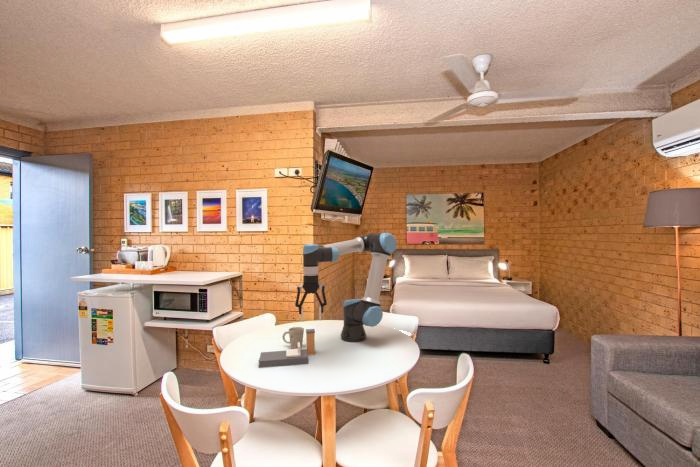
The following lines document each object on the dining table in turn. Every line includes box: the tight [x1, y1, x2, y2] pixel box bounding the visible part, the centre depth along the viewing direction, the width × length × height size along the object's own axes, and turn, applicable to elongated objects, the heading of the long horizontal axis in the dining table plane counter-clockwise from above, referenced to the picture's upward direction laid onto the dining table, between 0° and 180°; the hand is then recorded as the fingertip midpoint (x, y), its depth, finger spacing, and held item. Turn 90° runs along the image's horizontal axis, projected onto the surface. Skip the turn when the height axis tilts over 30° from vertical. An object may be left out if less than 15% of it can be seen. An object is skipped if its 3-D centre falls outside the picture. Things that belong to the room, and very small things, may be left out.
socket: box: [258, 348, 309, 369], centre depth 160 cm, size 23×12×3 cm, turn 101°
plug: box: [305, 328, 316, 356], centre depth 170 cm, size 4×4×12 cm
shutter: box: [285, 342, 301, 358], centre depth 161 cm, size 7×9×4 cm
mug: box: [282, 326, 305, 349], centre depth 180 cm, size 8×13×10 cm, turn 78°
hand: (311, 320), depth 163 cm, fingers open, 8 cm apart
